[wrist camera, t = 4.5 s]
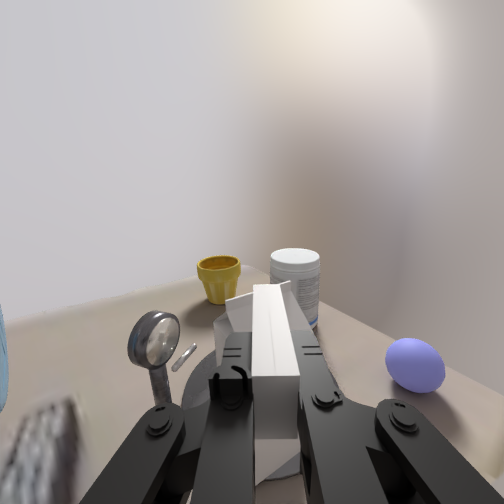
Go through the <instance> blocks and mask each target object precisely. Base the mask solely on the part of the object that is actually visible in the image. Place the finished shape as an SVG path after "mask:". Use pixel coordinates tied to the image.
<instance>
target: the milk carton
mask: <svg viewBox="0 0 504 504" xmlns="http://www.w3.org/2000/svg"><path fill="white" fill-rule="evenodd" d="M280 288H281V293H282V297H283V302H284V306H285V310H286V315H287V319H288V324H289V328H290V330H309V331H311V332H312V333H313V334H314V332H313V330H312V329H311V327H310V325H309V323H308V321H307V319H306V317H305V316H304V314H303V312H302V310H301V308H300V306H299V305H298V303H297V301H296V299H295V297H294V295H293V293H292V292H291V281H290V280H289V281H286V282H283V283H280ZM225 307H226V312H225V313H223V314H222V315H221V316H219V317H218V318H217V319H215V320H214V321H213V326H214V338H215V350H216V361H217V367H218V366H220V365H221V361H222V357H223V350H224V345H225V340H226V338H227V337H228V336H229V335H230V333H231V332H252V325H253V292H250V293H247V294H244V295H241V296H237V297H234V298H231V299H228V300H225ZM299 452H300V440H299V434H298V439H255V486H256V485H258V484H259V483H260V482H261V481H263V480H264V479H265V478H267V477H268V476H269V475H270V474H272V473H273V472H274V471H276V470H277V469H278V468H279V467H281V466H282V465H283V464H285V463H286V462H287V461H289V460H290V459H291V458H292V457H294V456H295V455H296V454H298V453H299Z"/></svg>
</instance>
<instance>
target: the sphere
mask: <svg viewBox="0 0 504 504" xmlns="http://www.w3.org/2000/svg"><path fill="white" fill-rule="evenodd" d="M385 362H386V366H387V369H388V372H389V374H390V375H391V376H392V378H393V379H394V380H395V381H396V382H397V383H398V384H399V385H400V386H402V387H404V388H405V389H407V390H410V391H412V392H417V393H429V392H432V391H434V390H436V389H437V388H439V387H440V386H441V384H442V382H443V381H444V378H445V366H444V363H443V360H442V358H441V357H440V355H439V354H438V352H437V351H436V350H435V349H434V348H433V347H431V346H430V345H428V344H427V343H425V342H423V341H421V340H418V339H413V338H403V339H400V340H397V341H395V342H394V343H393V344H392V345H391V346H390V347H389V348H388V350H387V352H386V358H385Z"/></svg>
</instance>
